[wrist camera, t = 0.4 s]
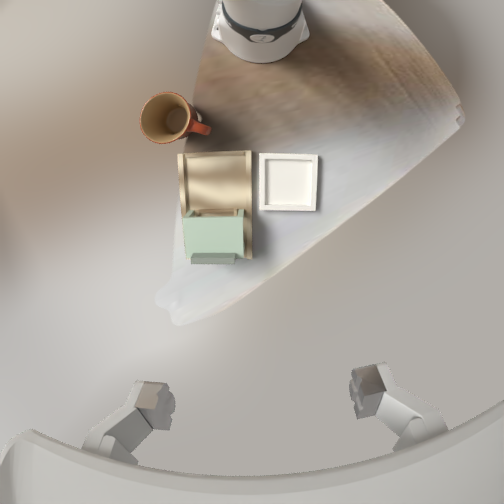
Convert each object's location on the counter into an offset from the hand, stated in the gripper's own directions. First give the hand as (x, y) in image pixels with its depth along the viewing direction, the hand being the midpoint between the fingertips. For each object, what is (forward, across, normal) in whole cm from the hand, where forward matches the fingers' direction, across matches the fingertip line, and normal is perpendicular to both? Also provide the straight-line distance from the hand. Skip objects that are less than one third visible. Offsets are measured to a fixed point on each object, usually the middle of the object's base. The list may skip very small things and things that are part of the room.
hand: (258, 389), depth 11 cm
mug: (+46, +11, -15) cm, 49 cm away
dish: (+45, -6, -1) cm, 46 cm away
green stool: (+45, +9, +7) cm, 46 cm away
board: (+45, +8, +2) cm, 46 cm away
